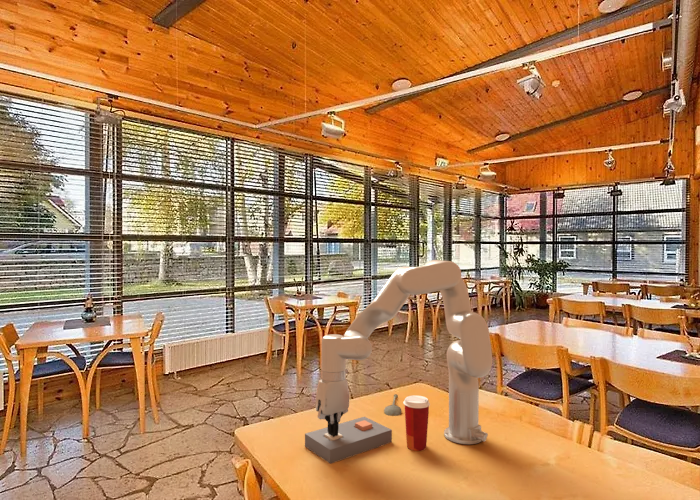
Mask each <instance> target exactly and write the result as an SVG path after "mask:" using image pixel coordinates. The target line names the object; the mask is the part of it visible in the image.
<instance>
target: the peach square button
mask: <svg viewBox="0 0 700 500" xmlns="http://www.w3.org/2000/svg"><path fill="white" fill-rule="evenodd" d="M355 428H357V429H359V430H361V431H365V430H369V429H372V424H371V423H369V422H367V421H365V420H363V421H360V422H357V423H355Z"/></svg>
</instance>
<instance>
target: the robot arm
mask: <svg viewBox="0 0 700 500" xmlns="http://www.w3.org/2000/svg"><path fill="white" fill-rule="evenodd" d="M435 292H440V295H441V297H442V302H443V307H444V308H443V309H444V316H445V325H446V330H447V332H448V333H449V335H452V336H453V337H455V338H457V339H459V340H455V341H453V342H452V343H450V344H449V346H448V348H447V351H446V364H447V369H448V427H446V428H445V429H444V431H443V435H444V437H445V438H446V439H447V440H448V441H450V442H453V443H457V444H461V445H474V444H475V445H476V444H479V443H481V442H486V441H487V438H488V436H489V434H488V432H485V431H482V425H481V424H479V404H480V403H479V391H480V389H479V388H480V387H479V379H480V378H483V377H486V376H487V375H488V374H489V373H490V371H491V369H492V366H493V353H492V344H491V339H490V338H491V337H490V330H489V326H488V324H487V321H486V320H485V318H484V317H483V316H482V315H480V314H479V313H477V312H474V311H473V310H472V306H471V301H470V297H469V296H470V295H469V291H468V287H467V285H466V283H465V281H464V280H463V278H462V270H461V268H460V266H459V264H457V263H456V262H454V261H450V260H440V259H433V260H429V261H427V262H426V263H424V264H423V265H420V266H407V265H406V266H400V267H398V268H396V269H395V270H394V272H393V273H392V274H391V276H390V277H389V278H388V279H387V281H386V282H385V284H384V285H383V287H382V288H381V289H380V291H379V292H378V294H377V295H376V296H375V298H374V299H373V300H372V301H371V303H369V304H368V305H367V306H366V307H365V308H364V309H363V310H362V311H361V312H360V313H359V314H358V315H357V316H356V317H355V319H354V320H353V321H352V323H351V324H350V325H349V326H348V328H347V329H346V331H345V333H344V334H343V335H342V334H338V333H337V334H336V333H335V334H334V333H333V334H326V335H324V336H323V337H322V339H321V364H320V365H321V371H320V372H321V375H320V377H321V379H319V380H318V382H317V383H318V384H317V388H316V394H315V411H316V412H317V418H318V419H319V420H325V421H326V422H327V427H328V434H330V435H331V436H333V437H334V436H335V435H336V436H337V435H338V424H340V422H341V418H342V417H343V416H344V415H345V414H347V413H348V412H349V408H350V393H349V392H350V391H349V383H348V379H347V376H346V375H347V374H348V373H349V371H348V370H349V369H347V368H346V361H347V360H353V361H363V360H365V359H368V358H369V357H370V356H371V354H372V352H373V344H372V343H371V341H370V340H369V337H370V336H371V334H372V333H374V331H375V330H376V329H377V328H378V327H379V326H380V325H382V324H383V323H386V322H389V321H391V320H392V319H394V318H395V317H396V316H397V314H398V313H399V312H400V310H401V309H402V307H403V306H404V305H405V303H406V302H407V301H408V299H409V298H410V296H411V295H412V296H417V295H424V294H429V293H435Z"/></svg>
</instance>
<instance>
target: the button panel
mask: <svg viewBox="0 0 700 500" xmlns="http://www.w3.org/2000/svg"><path fill="white" fill-rule="evenodd" d="M363 420H365V421H367V422H369V423H371V424H372V429H369V430H365V431H361V430H359V429H357V428H355V423H357V422H360V421H363ZM392 432H393V430H392V429H391V428H389V427H387V426H385V425H383V424H381V423H378V422H376V421H374V420H372V419H371V418H368V417H366V416H361V417H358V418H355V419H352V420H349V421H344V422H341V423H340V422H339V424H338V433H340V434H341V435H342V438H340V439H337V440H333V441H330V440H329V439H327V438H325V437H324V434H326V433H328V426H327V427H323V428H320V429H316V430H313V431H310V432H306V433H304V448H307V449H308V450H309V451H311V452H312V453H314V454H315V455H316V456H318V457H320V459H322V460H324V461H326V462H327V463H329V464H333V463H336V462H339V461H342V460H344V459H347V458H350V457H353V456H356V455H359V454H361V453H365V452H367V451H371V450H373V449H377V448H380V447H383V446H385V445H387V444H390V443H392V442H393V440H392V439H393V437H392V436H393V435H392V434H393V433H392Z"/></svg>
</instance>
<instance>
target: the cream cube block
mask: <svg viewBox="0 0 700 500" xmlns="http://www.w3.org/2000/svg"><path fill="white" fill-rule="evenodd" d="M324 437H325V438H327V439H329V440H330V441H333V440H337V439H340V438H342V435H341V434H340V433H338V435H337V436H336V435H335V436H334V437H333V436H331V435H330V434H328V433H326V434H324Z"/></svg>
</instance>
